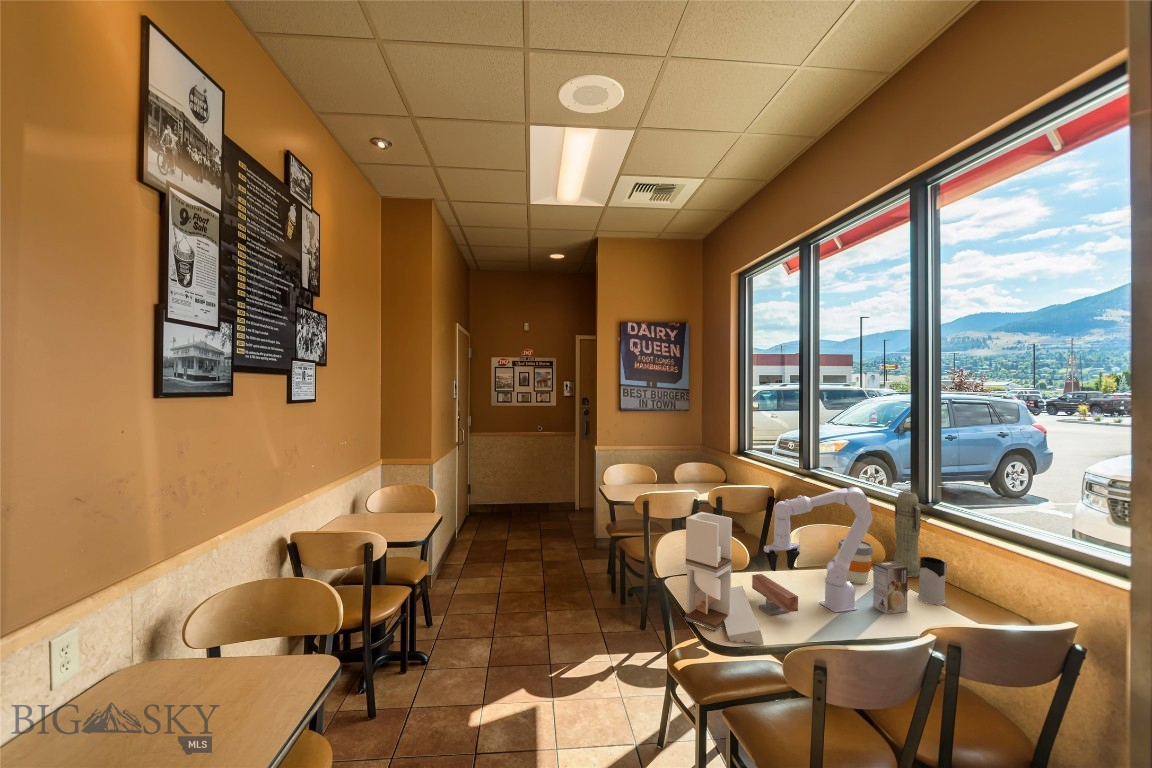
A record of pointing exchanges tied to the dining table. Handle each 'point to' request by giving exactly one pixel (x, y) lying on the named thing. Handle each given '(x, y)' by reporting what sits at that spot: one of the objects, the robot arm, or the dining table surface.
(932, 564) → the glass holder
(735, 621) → the decorative molding
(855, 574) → the reusable coffee cup
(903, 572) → the coffee box
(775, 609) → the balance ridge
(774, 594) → the mahogany rod
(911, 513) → the thermos
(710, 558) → the white tower model
